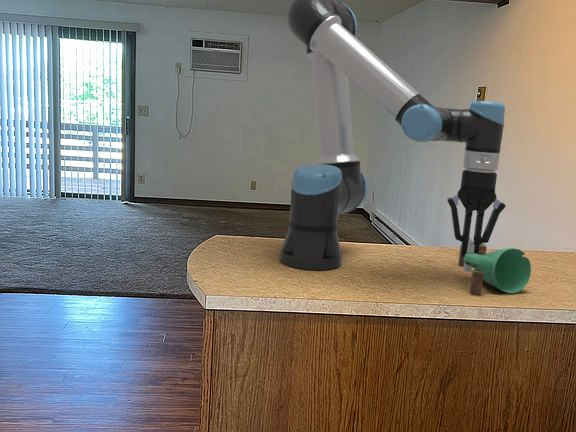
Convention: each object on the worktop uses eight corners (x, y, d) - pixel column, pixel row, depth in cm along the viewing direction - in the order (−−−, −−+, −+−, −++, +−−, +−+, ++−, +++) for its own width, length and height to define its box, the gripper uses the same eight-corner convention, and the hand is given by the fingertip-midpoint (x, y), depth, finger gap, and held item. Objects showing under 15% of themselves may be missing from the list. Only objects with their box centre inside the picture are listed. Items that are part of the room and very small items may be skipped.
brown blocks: (471, 294, 120) (473, 271, 119) (456, 259, 151) (458, 240, 150) (503, 298, 119) (506, 275, 118) (482, 261, 149) (484, 243, 148)
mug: (504, 251, 133) (535, 254, 124) (494, 291, 133) (524, 298, 123) (454, 234, 129) (483, 236, 119) (443, 275, 128) (471, 281, 119)
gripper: (451, 169, 125) (439, 271, 130) (513, 174, 123) (498, 278, 127) (449, 166, 133) (437, 263, 137) (506, 171, 130) (493, 269, 135)
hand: (467, 270), depth 132 cm, fingers closed
